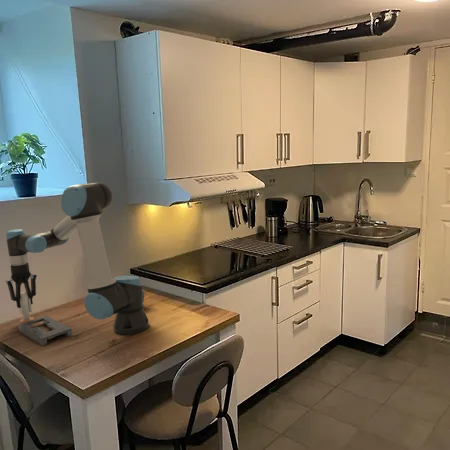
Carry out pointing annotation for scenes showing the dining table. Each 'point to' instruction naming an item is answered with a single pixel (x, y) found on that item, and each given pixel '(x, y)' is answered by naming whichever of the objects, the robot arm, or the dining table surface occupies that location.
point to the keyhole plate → (42, 335)
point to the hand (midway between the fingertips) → (25, 312)
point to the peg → (25, 308)
